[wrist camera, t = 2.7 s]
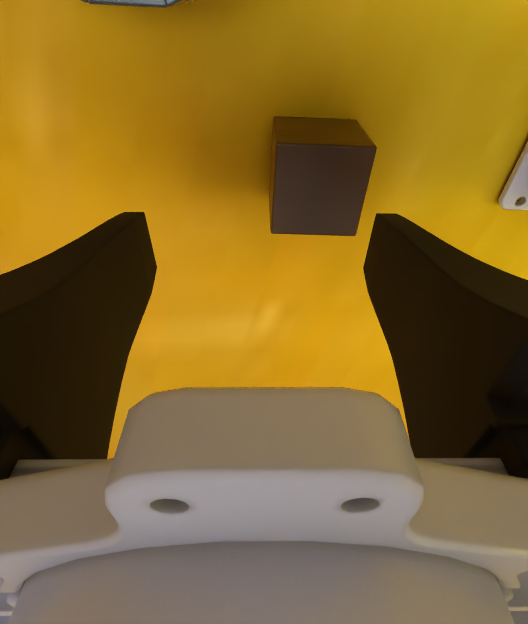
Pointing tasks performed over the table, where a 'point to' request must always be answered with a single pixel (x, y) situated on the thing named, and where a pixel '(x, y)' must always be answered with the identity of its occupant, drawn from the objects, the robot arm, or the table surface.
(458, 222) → the table surface
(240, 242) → the table surface
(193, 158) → the table surface
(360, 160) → the block
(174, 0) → the tin
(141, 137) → the table surface
